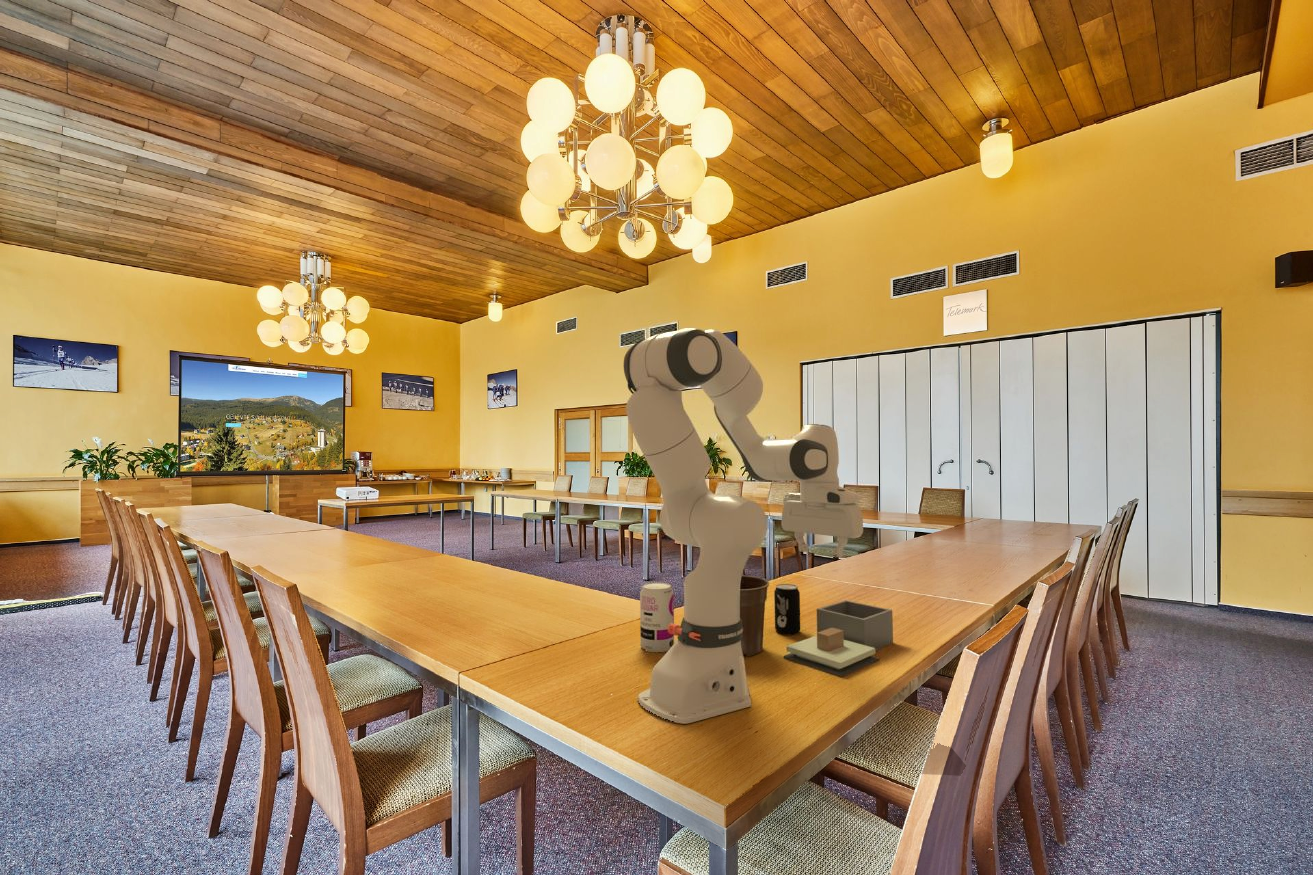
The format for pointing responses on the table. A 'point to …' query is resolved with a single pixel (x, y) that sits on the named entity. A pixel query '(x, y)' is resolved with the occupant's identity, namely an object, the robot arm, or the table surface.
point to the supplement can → (656, 616)
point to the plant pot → (752, 613)
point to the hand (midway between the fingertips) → (820, 553)
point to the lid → (831, 649)
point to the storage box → (858, 622)
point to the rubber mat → (837, 672)
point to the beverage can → (787, 609)
